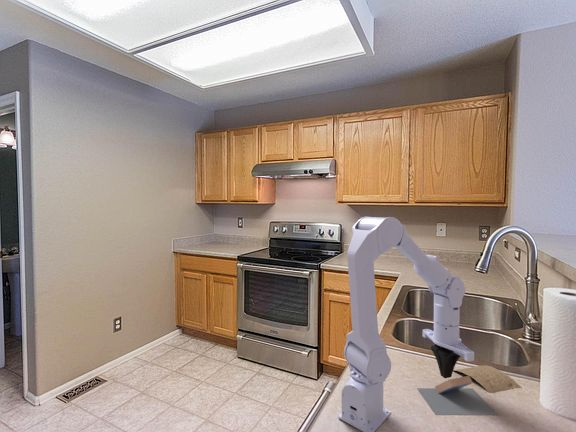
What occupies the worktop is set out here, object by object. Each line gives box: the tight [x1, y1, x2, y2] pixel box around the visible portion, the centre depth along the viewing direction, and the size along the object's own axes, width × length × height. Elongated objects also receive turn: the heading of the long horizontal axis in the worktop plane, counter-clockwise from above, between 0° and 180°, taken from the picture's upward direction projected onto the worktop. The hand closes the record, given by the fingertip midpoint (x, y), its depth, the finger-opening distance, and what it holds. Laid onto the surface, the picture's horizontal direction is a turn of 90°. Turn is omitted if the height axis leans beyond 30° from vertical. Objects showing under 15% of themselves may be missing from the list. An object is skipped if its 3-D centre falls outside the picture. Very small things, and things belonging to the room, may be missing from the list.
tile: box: [434, 375, 474, 394], centre depth 74 cm, size 6×2×6 cm
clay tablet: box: [453, 365, 522, 394], centre depth 82 cm, size 14×10×3 cm
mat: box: [416, 387, 500, 416], centre depth 72 cm, size 14×10×1 cm
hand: (446, 376), depth 77 cm, fingers closed
